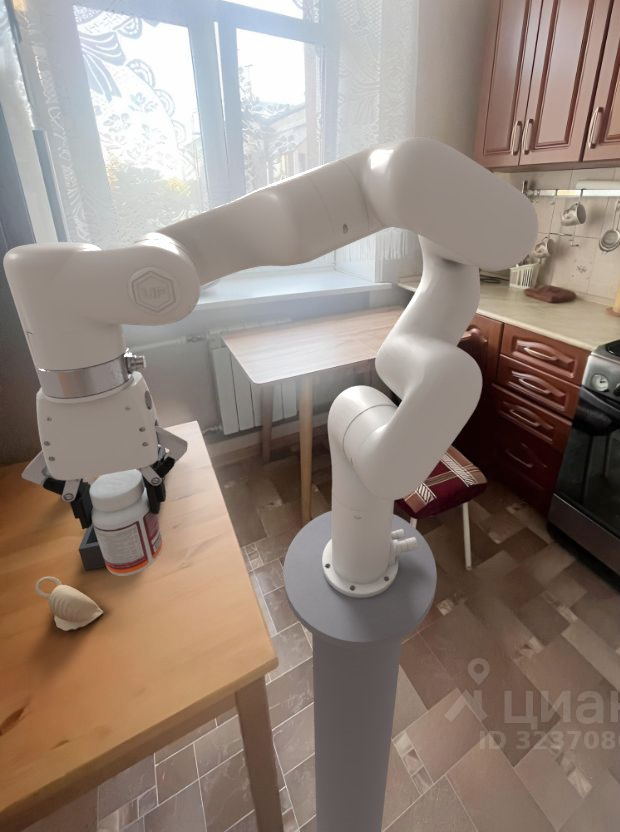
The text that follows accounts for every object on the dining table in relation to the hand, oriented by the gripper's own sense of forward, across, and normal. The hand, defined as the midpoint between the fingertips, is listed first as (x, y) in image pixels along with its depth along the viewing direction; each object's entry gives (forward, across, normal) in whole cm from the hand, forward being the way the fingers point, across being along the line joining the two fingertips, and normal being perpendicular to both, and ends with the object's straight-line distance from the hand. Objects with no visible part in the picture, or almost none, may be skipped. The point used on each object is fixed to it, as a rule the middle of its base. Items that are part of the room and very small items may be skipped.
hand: (124, 511), depth 45 cm
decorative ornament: (+22, +12, -7) cm, 26 cm away
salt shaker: (+22, +18, -36) cm, 46 cm away
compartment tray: (+22, +7, -27) cm, 36 cm away
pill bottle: (+7, 0, 0) cm, 7 cm away
